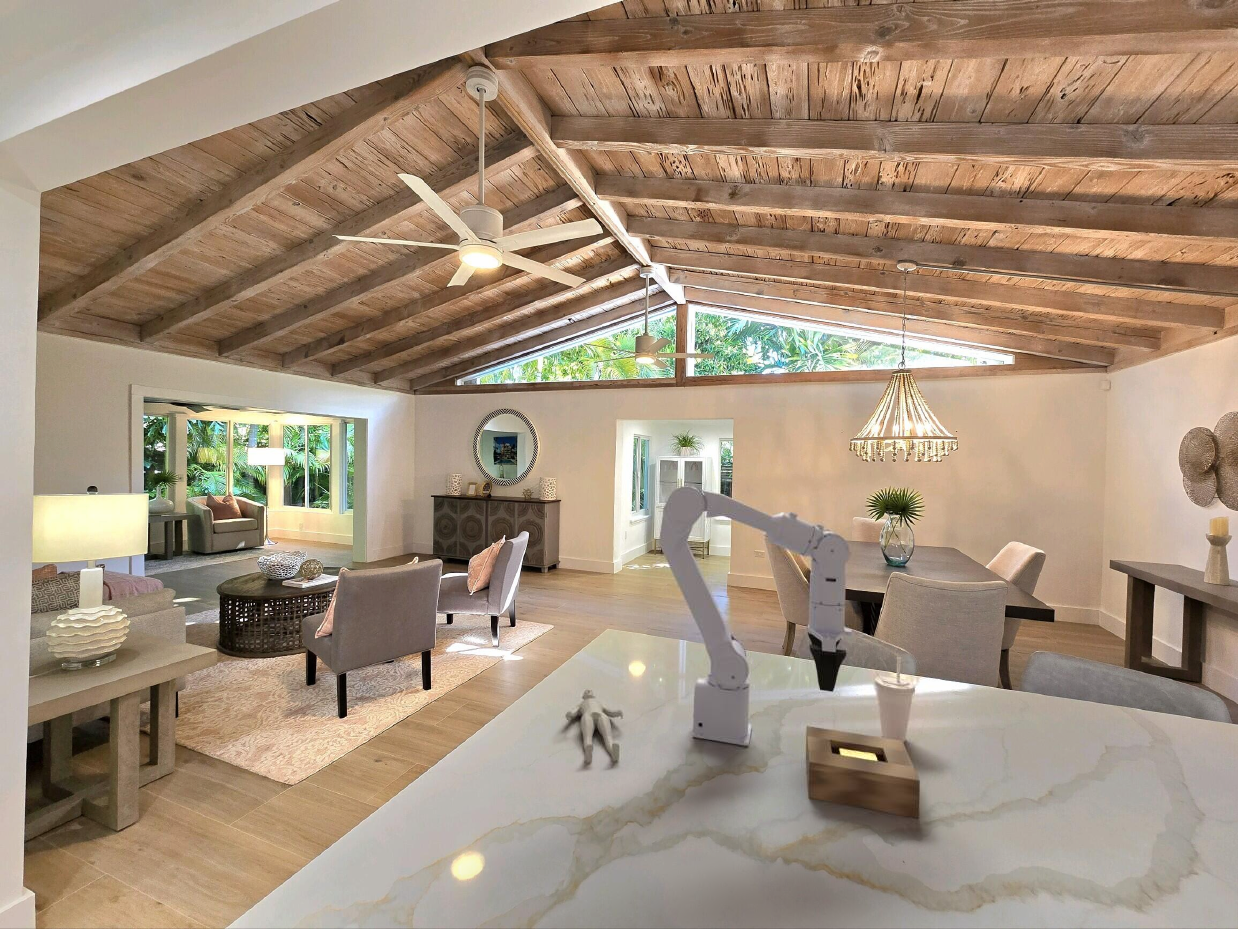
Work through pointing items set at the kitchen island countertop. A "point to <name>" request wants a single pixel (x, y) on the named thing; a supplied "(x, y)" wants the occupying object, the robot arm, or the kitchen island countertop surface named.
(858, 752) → the block
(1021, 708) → the kitchen island countertop surface
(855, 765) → the brown rectangular hollow block
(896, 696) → the smoothie
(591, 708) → the male figure
